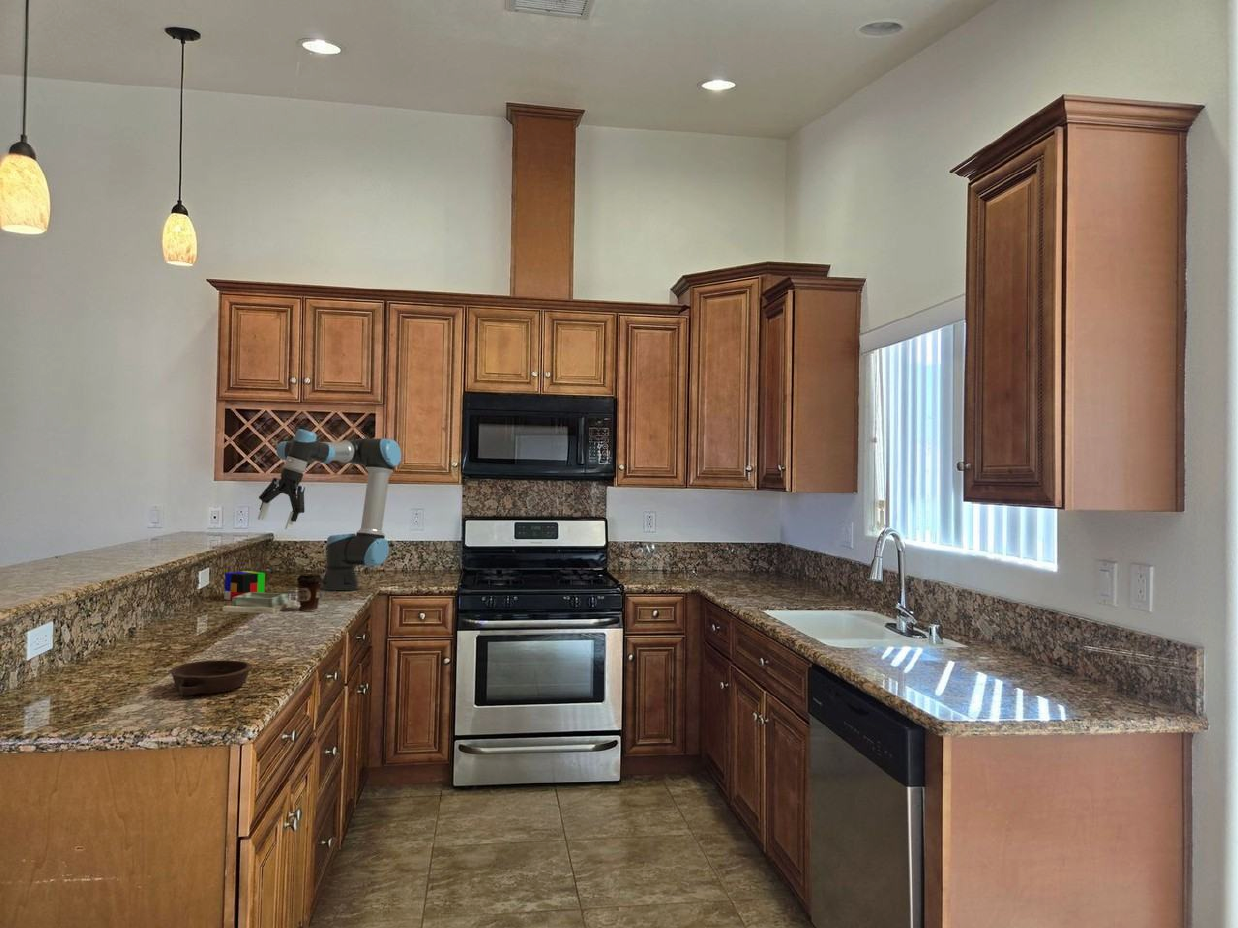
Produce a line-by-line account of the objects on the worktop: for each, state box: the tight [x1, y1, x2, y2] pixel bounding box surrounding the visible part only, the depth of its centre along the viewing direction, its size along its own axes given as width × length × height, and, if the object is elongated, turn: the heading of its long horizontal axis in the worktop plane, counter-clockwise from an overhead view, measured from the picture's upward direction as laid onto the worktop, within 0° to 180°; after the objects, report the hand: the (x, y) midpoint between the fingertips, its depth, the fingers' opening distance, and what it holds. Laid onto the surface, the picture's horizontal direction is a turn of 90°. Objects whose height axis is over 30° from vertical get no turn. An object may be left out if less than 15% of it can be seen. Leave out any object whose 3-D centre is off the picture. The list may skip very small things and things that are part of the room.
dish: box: [169, 660, 253, 696], centre depth 206 cm, size 18×22×5 cm
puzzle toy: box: [224, 570, 266, 601], centre depth 338 cm, size 10×10×10 cm
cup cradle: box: [222, 592, 297, 614], centre depth 319 cm, size 20×18×4 cm
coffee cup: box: [296, 573, 323, 612], centre depth 317 cm, size 9×8×13 cm
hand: (274, 524), depth 326 cm, fingers open, 13 cm apart
